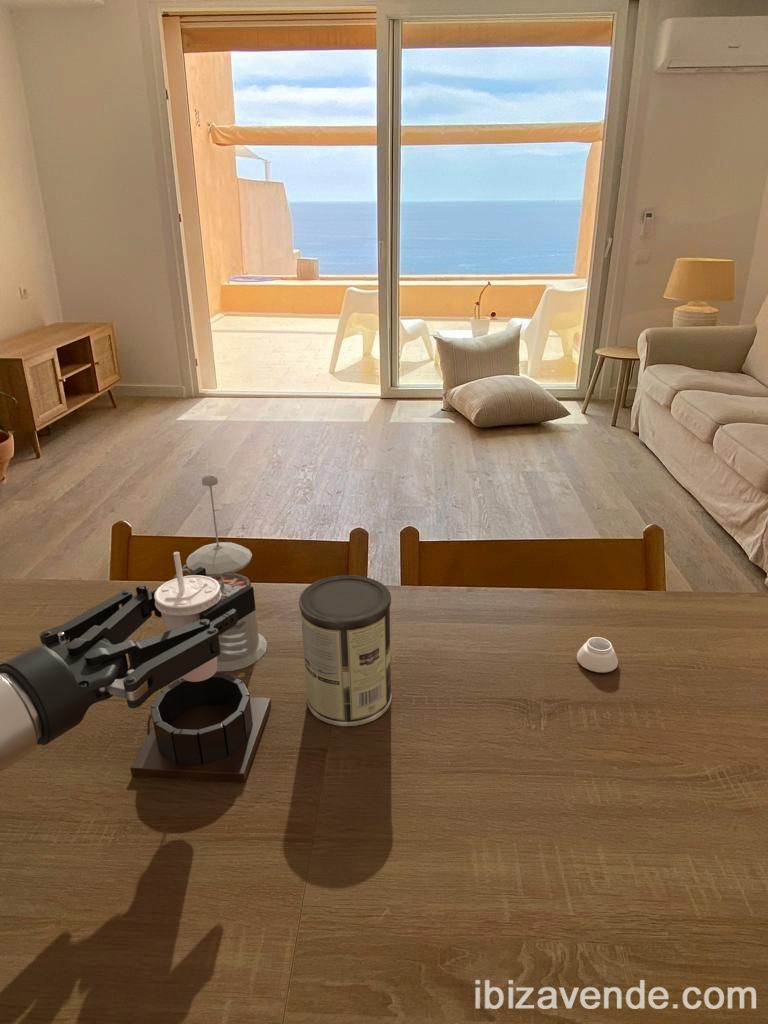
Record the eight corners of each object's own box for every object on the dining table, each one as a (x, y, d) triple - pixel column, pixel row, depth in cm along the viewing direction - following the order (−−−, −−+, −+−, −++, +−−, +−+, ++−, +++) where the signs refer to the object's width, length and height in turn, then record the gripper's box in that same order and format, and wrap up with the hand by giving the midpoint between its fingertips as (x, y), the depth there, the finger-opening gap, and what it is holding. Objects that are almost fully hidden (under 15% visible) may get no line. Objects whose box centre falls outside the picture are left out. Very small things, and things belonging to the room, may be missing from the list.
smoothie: (155, 670, 72) (134, 551, 67) (209, 645, 77) (194, 530, 71) (187, 698, 68) (167, 574, 63) (242, 670, 72) (228, 550, 67)
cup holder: (131, 776, 72) (123, 737, 70) (172, 701, 83) (166, 665, 81) (244, 782, 71) (240, 743, 69) (271, 705, 82) (267, 669, 80)
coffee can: (337, 662, 90) (332, 566, 84) (407, 688, 85) (407, 587, 79) (288, 708, 82) (279, 605, 76) (362, 739, 77) (359, 632, 71)
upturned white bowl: (590, 646, 92) (568, 662, 89) (593, 628, 91) (571, 643, 88) (624, 663, 89) (603, 680, 86) (627, 644, 88) (605, 660, 85)
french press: (253, 674, 88) (233, 491, 77) (167, 667, 89) (136, 486, 79) (276, 631, 96) (261, 462, 86) (197, 625, 98) (173, 458, 88)
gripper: (-33, 702, 62) (171, 592, 80) (97, 795, 52) (299, 647, 70) (-56, 631, 59) (162, 533, 77) (78, 716, 49) (294, 582, 67)
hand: (227, 588), depth 73 cm, fingers closed on smoothie, 6 cm apart
